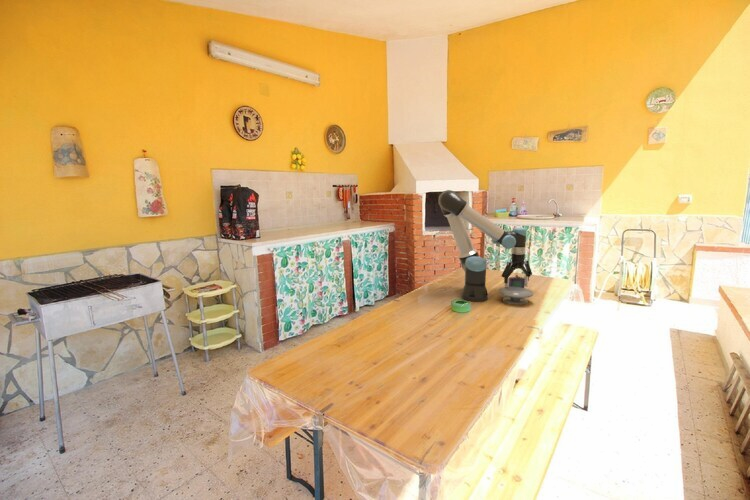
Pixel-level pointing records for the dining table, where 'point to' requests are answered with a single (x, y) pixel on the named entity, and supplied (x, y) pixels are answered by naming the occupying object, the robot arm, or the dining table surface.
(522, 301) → the cake stand
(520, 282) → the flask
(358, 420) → the dining table surface
